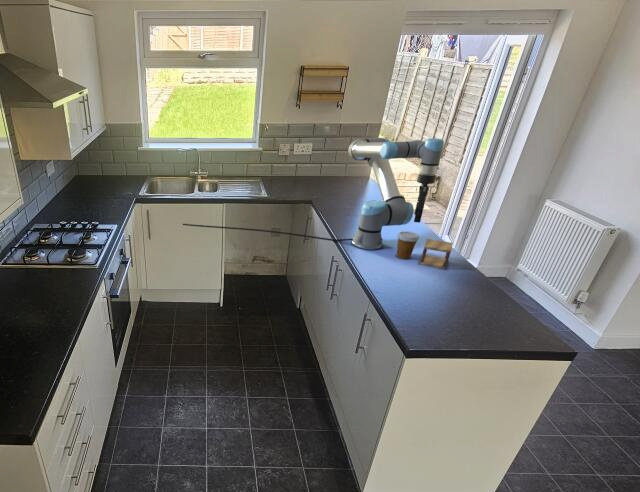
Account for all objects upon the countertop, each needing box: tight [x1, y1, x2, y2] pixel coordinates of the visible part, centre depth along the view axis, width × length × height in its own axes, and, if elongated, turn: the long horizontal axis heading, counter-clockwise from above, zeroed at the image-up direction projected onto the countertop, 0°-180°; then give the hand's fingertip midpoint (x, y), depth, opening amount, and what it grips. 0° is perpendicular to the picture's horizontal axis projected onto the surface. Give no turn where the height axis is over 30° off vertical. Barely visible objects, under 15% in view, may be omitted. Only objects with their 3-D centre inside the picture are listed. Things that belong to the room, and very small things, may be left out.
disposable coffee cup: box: [396, 231, 419, 260], centre depth 218 cm, size 10×10×12 cm
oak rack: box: [419, 238, 454, 270], centre depth 213 cm, size 12×12×10 cm
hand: (417, 218), depth 213 cm, fingers open, 13 cm apart
